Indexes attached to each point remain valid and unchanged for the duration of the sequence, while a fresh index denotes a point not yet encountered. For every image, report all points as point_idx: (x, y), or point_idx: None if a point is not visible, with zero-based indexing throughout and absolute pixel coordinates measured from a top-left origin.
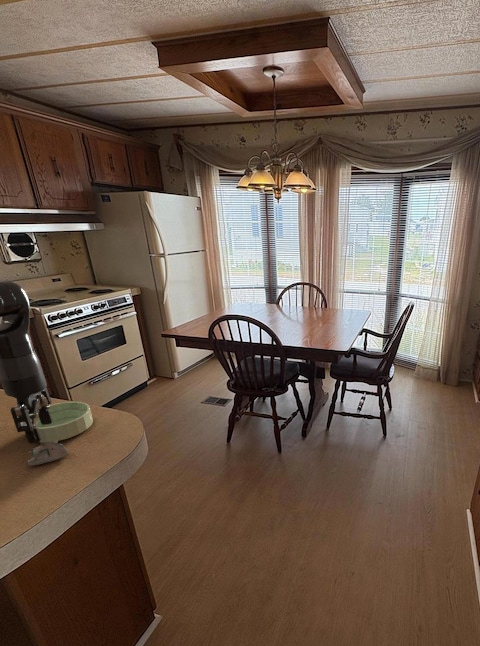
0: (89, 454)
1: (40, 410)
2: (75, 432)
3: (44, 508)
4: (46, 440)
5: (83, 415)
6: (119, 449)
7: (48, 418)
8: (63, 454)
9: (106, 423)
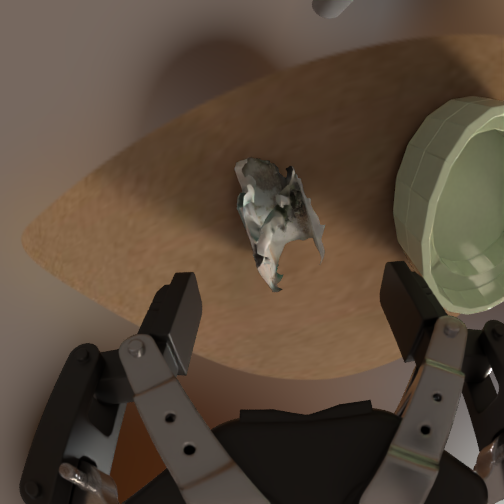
0: (274, 310)
1: (423, 341)
2: (410, 262)
3: (70, 270)
4: (401, 175)
5: (453, 310)
6: (276, 361)
7: (390, 316)
8: (272, 263)
9: None
